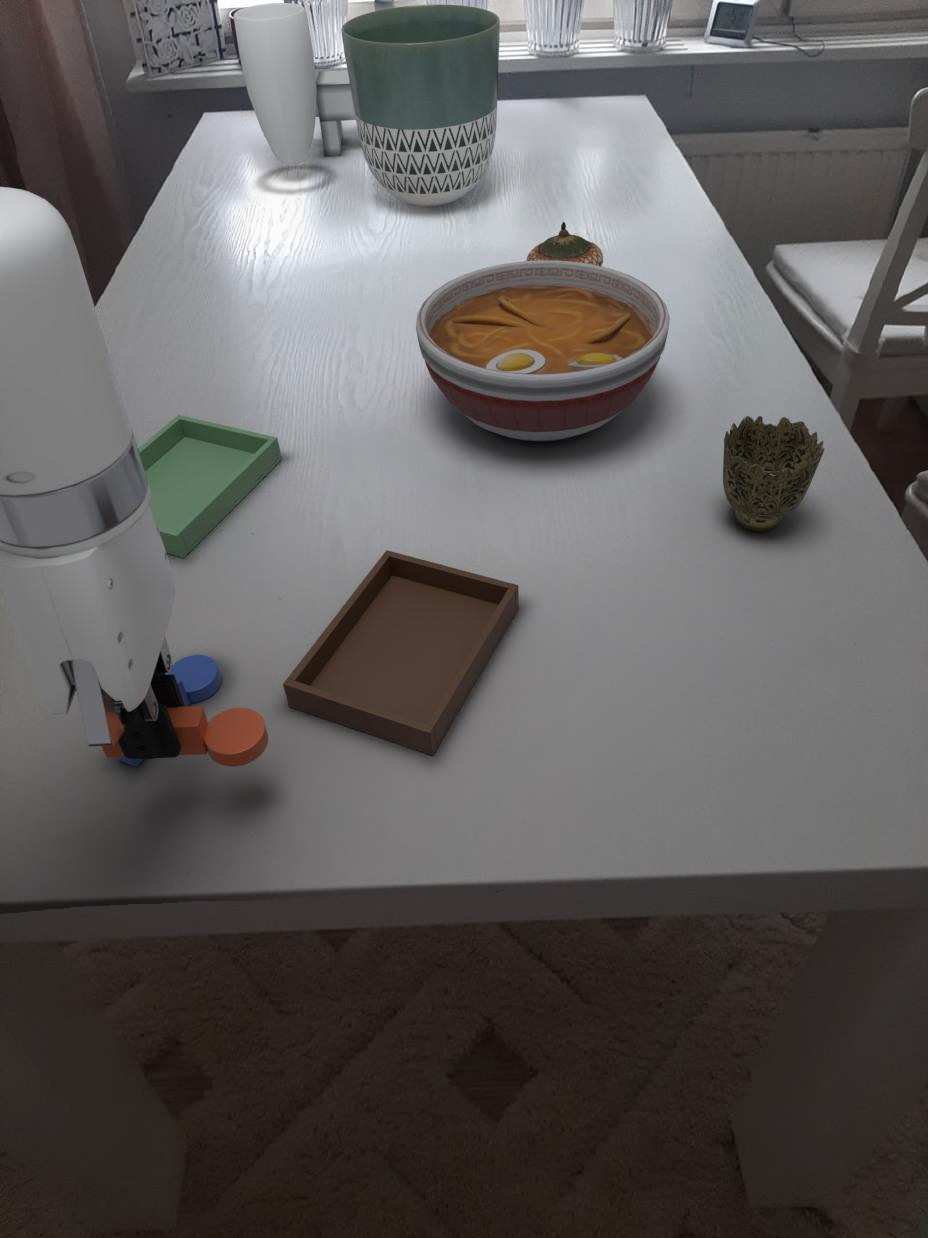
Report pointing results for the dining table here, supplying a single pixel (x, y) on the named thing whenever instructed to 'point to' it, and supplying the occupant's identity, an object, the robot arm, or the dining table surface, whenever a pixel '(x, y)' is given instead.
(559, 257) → the acorn
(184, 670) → the blue spoon
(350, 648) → the tray
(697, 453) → the dining table surface
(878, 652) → the dining table surface
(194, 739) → the terracotta spoon
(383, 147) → the planter
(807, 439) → the decorative vase
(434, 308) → the bowl
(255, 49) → the cup
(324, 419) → the dining table surface
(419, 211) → the dining table surface
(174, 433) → the green tray
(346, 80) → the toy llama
